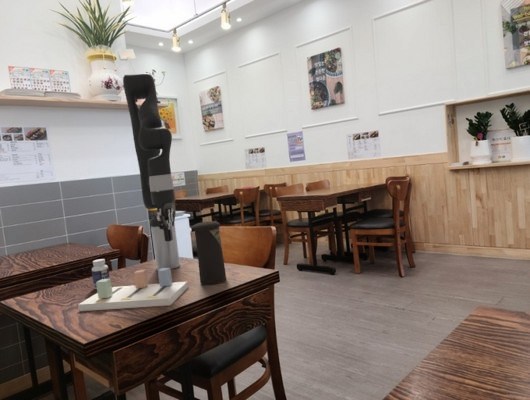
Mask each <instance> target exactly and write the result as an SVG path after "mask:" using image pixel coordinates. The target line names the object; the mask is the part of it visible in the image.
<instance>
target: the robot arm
mask: <svg viewBox="0 0 530 400" xmlns="http://www.w3.org/2000/svg"><path fill="white" fill-rule="evenodd" d="M122 84H123V85H122V86H123V90H124V94H125V100H126V103H127V108H128V112H129V117H130V123H131V130H132V135H133V142H134V144H133V145H134V148H135V154H136V158H137V163H138V164H137V165H138V169H139V176H140V186H141V194H142V200H143V201H142V202H143V205H144V207H145V209H147V210H154V209H156V215H154V217H153V218H151V219H150V221H149V223H150V229H151V236H152V244H153V253H154V259H155V267H156V270H157V271H158V270H160V269H161V268H170V269H171V270H172V269H176V268H178V267H180V266H181V262H180V254H179V247H178V240H177V239H178V238H177V230H176V225H175V219H176V210H174V207H173V204H174V203H175V202H176V194H175V188H174V182H173V178H172V171H171V163H170V158H171V157H170V155H171V147H172V141H173V136H172V135H173V134H172V133H171V132H172V131H170V129H169V128H167V127H164V126H163V123H162V119H161V115H160V111H159V105H158V96H157V89H156V83H155V80H154V77H153V76H152V74H151V73H148V72H143V73H131V74H130V73H128V74H124V76H123V77H122ZM137 100H144V101H143V102H142V103H141V105H140V106H139V107H138V104H137V102H136V101H137Z"/></svg>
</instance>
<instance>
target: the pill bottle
mask: <svg viewBox="0 0 530 400" xmlns="http://www.w3.org/2000/svg"><path fill="white" fill-rule="evenodd" d="M92 265H93V267H92V268H91V275H92V282H93V288H94V289H95V290H97V285H96V282H98V281H99V280H101V279H111V278H110V277H111V276H110V271H109V266H108V265H107V264H106V260H105V258H100V259H95V260H93V261H92Z"/></svg>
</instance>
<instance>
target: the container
mask: <svg viewBox="0 0 530 400" xmlns="http://www.w3.org/2000/svg"><path fill="white" fill-rule="evenodd" d="M220 226H221V223H220V222H218V221H213V220H212V221H203V222H202V221H201V222H198V223H195V224H194V225H193V226H192V229H193V231H194V235H195V236H194V237H195V243H196V251H197V260H198V261H197V262H198V270H199V273H198V274H199V281H200V284H201V285H206V286H207V285H208V286H209V285H216V284H221V283H223V282H225V281H226V280H227V274H226V267H225V261H224V254H223V247H222V240H221V239H222V238H221V233H220Z"/></svg>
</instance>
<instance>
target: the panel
mask: <svg viewBox="0 0 530 400" xmlns="http://www.w3.org/2000/svg"><path fill="white" fill-rule="evenodd" d="M148 284H149V283H148ZM187 289H189V283H188V281H176V282H172V284H171V285H169V286H160V284H159V283H150V284H149V285H148V286H146V287H145V288H136V287H135V284H133V285H124V286H112V292H113V295H112V296H110V297H109V298H100V299H99V298H98V292H96V293H95V294H93V295H91V296H90V297H88V298H87V299H84V300H83V301H82V302H80V303H78V304H77V306H78V311H79V312H87V311H89V312H90V311H102V310H118V309H120V310H121V309H131V308H133V309H134V308H135V309H136V308H146V307H147V308H148V307H162V306H171V305H172V304H173V303H174V302H175V301H176V300H178V299H179V297H180V296H182V294H184V293H185V291H186V290H187Z"/></svg>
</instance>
